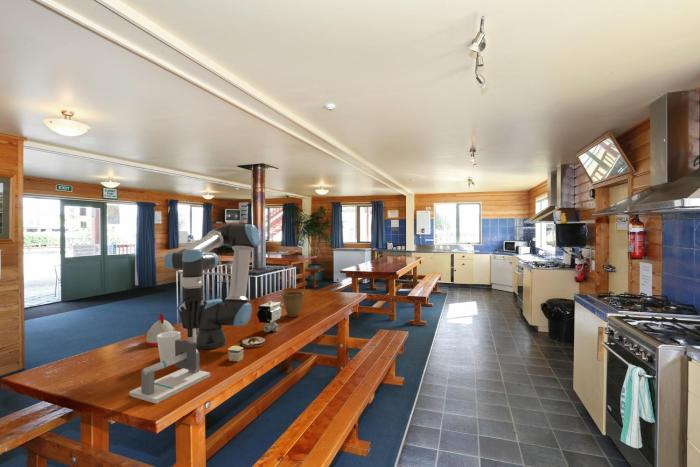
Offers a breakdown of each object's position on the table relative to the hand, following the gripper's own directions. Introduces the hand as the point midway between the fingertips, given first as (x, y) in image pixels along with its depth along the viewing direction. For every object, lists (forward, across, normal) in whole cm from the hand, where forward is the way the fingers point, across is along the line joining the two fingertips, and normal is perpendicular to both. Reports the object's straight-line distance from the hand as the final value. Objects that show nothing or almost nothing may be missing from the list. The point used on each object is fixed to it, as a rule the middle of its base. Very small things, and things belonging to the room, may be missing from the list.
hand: (192, 344), depth 139 cm
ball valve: (+13, +65, +9) cm, 67 cm away
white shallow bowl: (+14, +42, +3) cm, 44 cm away
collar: (+8, -3, 0) cm, 9 cm away
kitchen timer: (+13, +25, +51) cm, 58 cm away
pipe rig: (+13, -9, 0) cm, 16 cm away
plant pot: (+13, +101, +17) cm, 103 cm away
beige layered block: (+14, +21, -3) cm, 26 cm away
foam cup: (+13, +6, +21) cm, 26 cm away
